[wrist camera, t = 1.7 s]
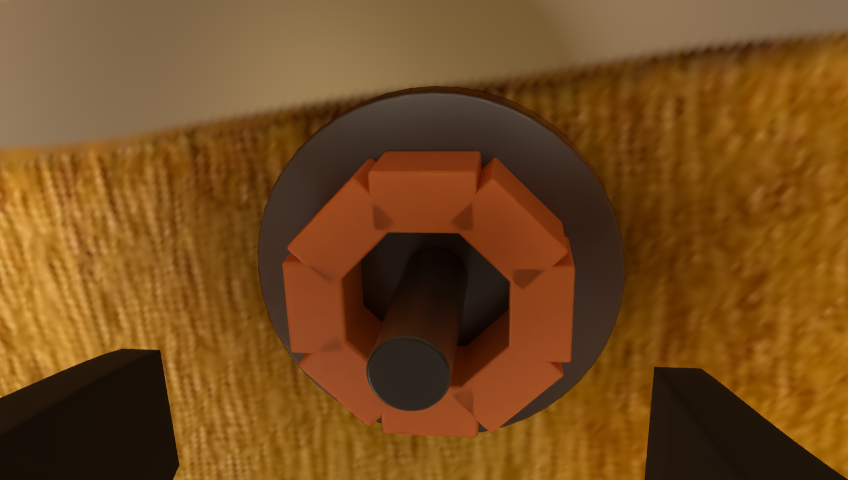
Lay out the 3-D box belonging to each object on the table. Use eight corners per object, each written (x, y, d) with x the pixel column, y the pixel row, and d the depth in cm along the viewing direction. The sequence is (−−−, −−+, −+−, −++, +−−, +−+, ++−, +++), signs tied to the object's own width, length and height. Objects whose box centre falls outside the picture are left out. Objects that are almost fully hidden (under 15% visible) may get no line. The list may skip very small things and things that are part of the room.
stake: (444, 473, 18) (418, 642, 13) (201, 260, 17) (80, 363, 12) (697, 268, 16) (776, 388, 11) (432, 2, 14) (393, 6, 10)
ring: (439, 434, 17) (430, 484, 15) (259, 274, 16) (228, 307, 14) (623, 281, 15) (636, 317, 13) (431, 93, 14) (419, 106, 12)
